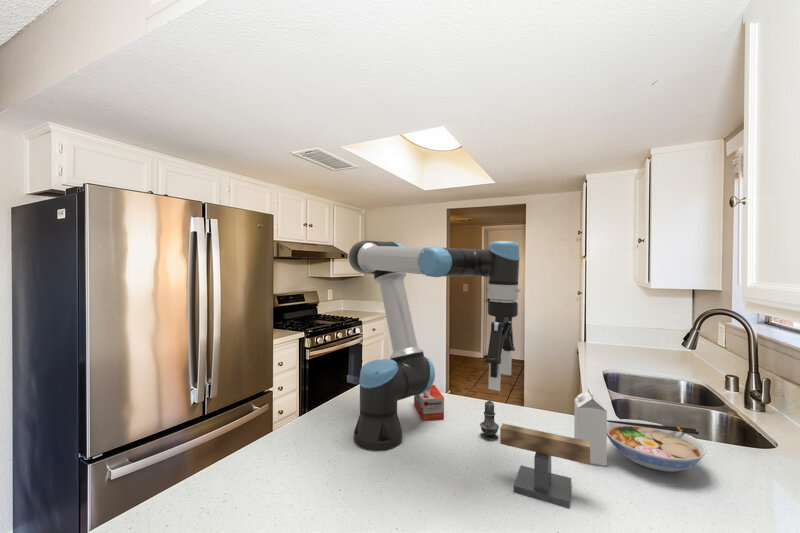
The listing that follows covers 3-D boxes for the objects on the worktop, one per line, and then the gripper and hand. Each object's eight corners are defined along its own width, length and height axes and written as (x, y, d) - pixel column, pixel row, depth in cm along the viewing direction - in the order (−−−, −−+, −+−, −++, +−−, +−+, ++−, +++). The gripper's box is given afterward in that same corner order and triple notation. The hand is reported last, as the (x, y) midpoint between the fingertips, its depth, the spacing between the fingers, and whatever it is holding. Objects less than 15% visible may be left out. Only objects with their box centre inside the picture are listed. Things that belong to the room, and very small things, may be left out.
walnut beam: (500, 443, 90) (500, 427, 90) (502, 438, 93) (502, 423, 93) (590, 464, 81) (590, 447, 81) (590, 458, 83) (590, 441, 83)
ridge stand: (513, 491, 85) (513, 454, 85) (520, 470, 94) (520, 436, 94) (569, 508, 80) (569, 467, 80) (571, 484, 88) (571, 447, 88)
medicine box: (413, 405, 139) (413, 384, 139) (433, 404, 140) (434, 383, 140) (422, 422, 124) (422, 398, 124) (444, 420, 125) (445, 397, 125)
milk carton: (601, 454, 103) (601, 388, 103) (606, 467, 96) (607, 396, 96) (574, 449, 105) (574, 385, 105) (577, 462, 98) (577, 393, 98)
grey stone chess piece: (499, 442, 109) (499, 403, 109) (479, 440, 111) (480, 401, 111) (498, 433, 115) (498, 396, 115) (479, 431, 116) (479, 394, 116)
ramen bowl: (608, 477, 92) (608, 445, 92) (593, 437, 113) (593, 411, 113) (731, 499, 83) (731, 464, 83) (689, 451, 104) (689, 423, 104)
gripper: (507, 306, 80) (504, 400, 81) (525, 297, 102) (523, 371, 103) (475, 304, 84) (472, 393, 84) (499, 295, 106) (497, 367, 106)
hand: (500, 381), depth 94 cm, fingers open, 13 cm apart
